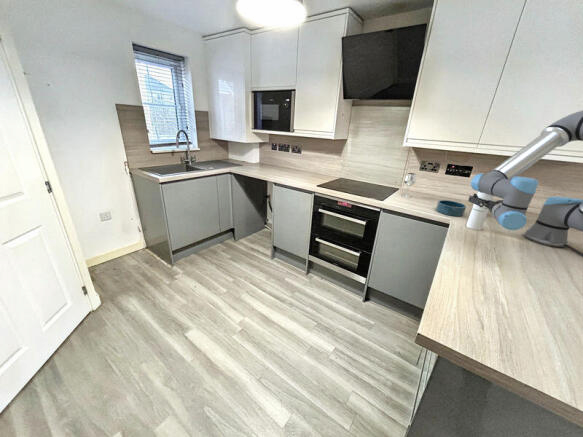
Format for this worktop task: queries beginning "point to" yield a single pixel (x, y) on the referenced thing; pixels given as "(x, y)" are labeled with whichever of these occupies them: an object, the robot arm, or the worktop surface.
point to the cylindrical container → (479, 213)
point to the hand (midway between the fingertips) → (490, 198)
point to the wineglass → (409, 181)
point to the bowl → (451, 208)
